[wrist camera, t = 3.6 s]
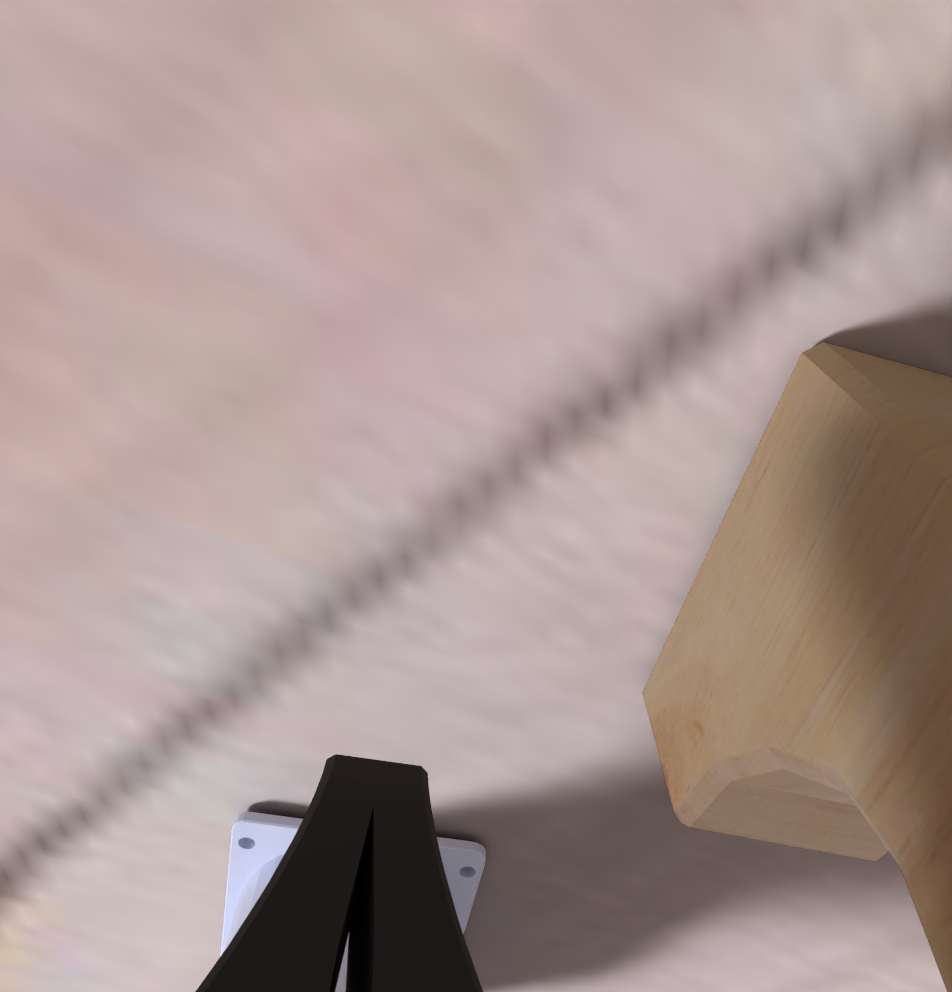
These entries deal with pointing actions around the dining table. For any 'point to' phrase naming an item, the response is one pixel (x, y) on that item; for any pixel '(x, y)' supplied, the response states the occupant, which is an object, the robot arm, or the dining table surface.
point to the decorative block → (827, 635)
